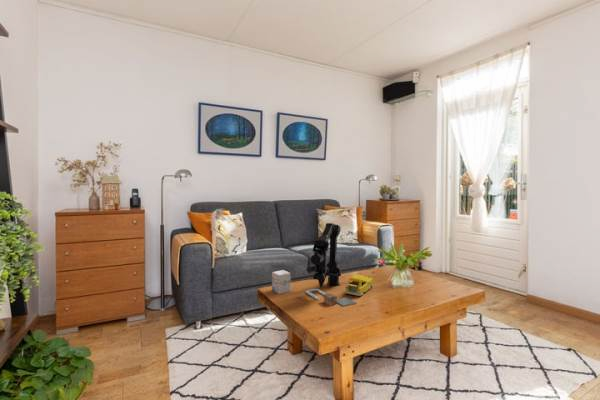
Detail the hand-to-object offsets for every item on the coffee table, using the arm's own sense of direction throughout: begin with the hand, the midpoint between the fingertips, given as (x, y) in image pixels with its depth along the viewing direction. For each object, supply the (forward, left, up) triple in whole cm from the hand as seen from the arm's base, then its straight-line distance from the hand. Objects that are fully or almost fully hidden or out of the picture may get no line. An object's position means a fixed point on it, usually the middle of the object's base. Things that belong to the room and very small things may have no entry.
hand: (320, 287), depth 185 cm
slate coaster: (-8, +12, -6) cm, 16 cm away
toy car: (-28, +1, -6) cm, 28 cm away
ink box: (+16, -21, -6) cm, 27 cm away
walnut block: (0, +9, -6) cm, 11 cm away
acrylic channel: (0, -4, -6) cm, 7 cm away
